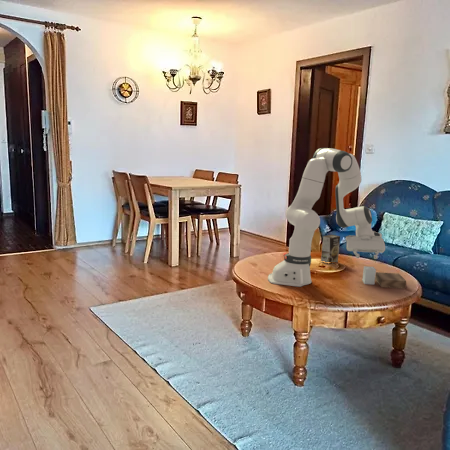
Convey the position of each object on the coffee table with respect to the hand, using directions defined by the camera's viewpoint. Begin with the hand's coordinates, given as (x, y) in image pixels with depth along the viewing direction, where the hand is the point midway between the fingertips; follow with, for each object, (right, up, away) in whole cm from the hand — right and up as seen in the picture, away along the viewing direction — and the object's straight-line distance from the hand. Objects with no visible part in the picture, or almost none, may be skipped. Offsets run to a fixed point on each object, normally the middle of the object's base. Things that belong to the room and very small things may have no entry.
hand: (366, 258), depth 230 cm
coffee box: (-13, -5, +29) cm, 32 cm away
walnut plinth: (+10, -13, -6) cm, 17 cm away
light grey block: (-1, -12, -5) cm, 14 cm away
